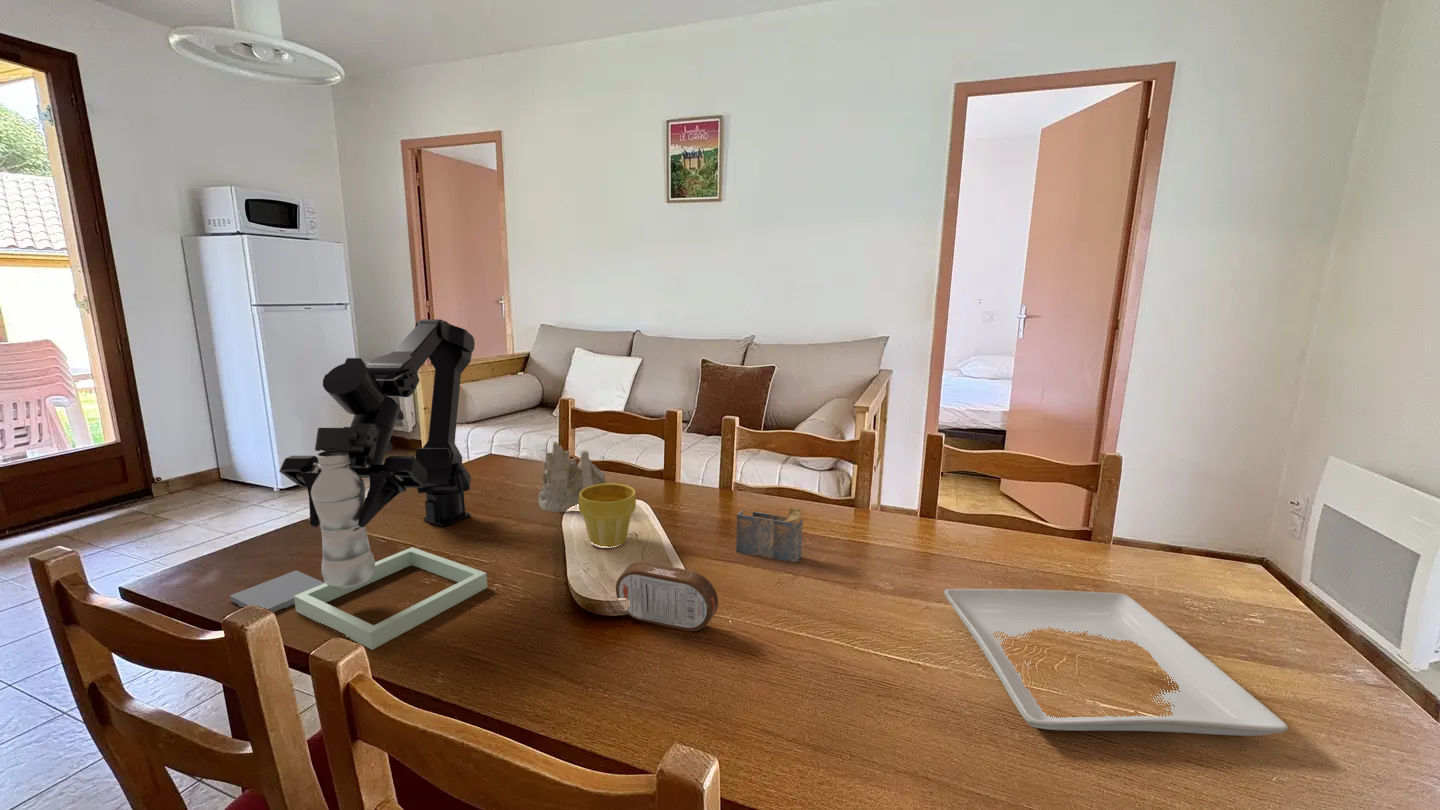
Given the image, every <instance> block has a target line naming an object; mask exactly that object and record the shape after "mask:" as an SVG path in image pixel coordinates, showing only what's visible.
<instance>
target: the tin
mask: <svg viewBox="0 0 1440 810" xmlns="http://www.w3.org/2000/svg"><path fill="white" fill-rule="evenodd" d="M615 593H616V598H626V599H628V600H630V608H629V609H627V610H626V612H625V613H626V615H627V614H628V616H630V617H632V618H633V619H635V620H638V621H641V622H645V623H650V624H655V625H658V626H663V627H668V628H671V629H672V628H673V629H677V630H680V631H686V632H697V631H699V630H702V629H703V628H705V627H706V626H707V625H708V624H709V623H710V622H711V620H712V617H714V616H715V614H716V613H717V610H718V608H719V598H718V594H717V591H716V589H715V587H714V586H713V584H712V582H711V581H710V580H709V579H707V578H706V576H704V575H702V574H700V573H699V572H696V571H693V570H690V569H684V568H678V567H673V566H670V565H669V566H667V565H664V564H658V563H653V562H649V561H636V562H635V561H634V562H633V563H631V564H629V565H628V566H627V567H626V568H625V570H624V571H623V572H622V573H621V574H620V576H619V577H618V578H617V580H616V584H615Z"/></svg>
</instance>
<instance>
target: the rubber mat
mask: <svg viewBox="0 0 1440 810" xmlns="http://www.w3.org/2000/svg"><path fill="white" fill-rule="evenodd" d="M324 583H325V581H321V580H319V579H317V578H314V577H312V576H310V575H308V574H306V573H303V572H301V571H300V570H294V571H291V572H288V573H286V574H285V573H284V574H283V575H280V576H277V577H275V578H272V579H270V580H268V581H267V580H266V581H264V582H262V583H258V584H256V585H255V586H251V587H249V588H246V589H243V590H241V591H237V592H235V593H232V594H230V595H229V598H230V599H229V600H230V602H231V601H233V602H234V603H233V602H232V603H233V604H235V603H236V604H238V605H237V606H238V607H241V608H242V607H244V606H248V605H253V606H259V607H262V608H266V609H268V610H271V611H273V612H274V611H277V609H278V610H279V609H283V608H285V609H288V608H289V606H290V607H292V606H295V601H294V596H295V595H297V594H300V593H302V592H304V591H307V590H309V589H312V588H314V587H317V586H319V585H321V584H324ZM236 604H235V605H236ZM291 605H292V606H291ZM283 610H284V609H283Z"/></svg>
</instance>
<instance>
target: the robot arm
mask: <svg viewBox="0 0 1440 810" xmlns="http://www.w3.org/2000/svg"><path fill="white" fill-rule="evenodd" d="M475 344H476V343H475V338H474V336H473V335H472V334H471V333H470V332H468V330H467V329H465V328H461V327H459V326H457V325H454V324H450V323H449V322H448V321H446V320H443V319H437V318H436V319H431V318H430V319H429V318H428V319H425V318H424V319H423V318H421V319H420V320H417V321H416V323H415V326H414V328H413V329H412V330H411V331H410V333H409V334H408V335H407V336H406V337H405V338H404V339H403V340H402V341H401V342H400V343H399V344H398V346H396V347H395V348H394V350H393V351H392V352H390V353H389V354H384V355H381V356H378V357H376V358H374V359H371V360H370V361H369V362H368V363H365V361H364V360H363V359H362V358H361V357H347V358H346V359H345V361H344V363H342V364H339V365H337V366H335V367H333V368H332V369H331V370H329V372H328V373H326V374H324V377H323V380H322V387H323V389H324V391H326V392H327V393H328V394H329V395H330V396H331V398H332V399H334V400H335V402H336V403H337V404H338V405H339V406H340V407H341V408H342V409H343V410H344V411H345V412H346V413H347V414H350V415H354V416H353V418H352V421H351V424H350V426H344V427H318V428H317V431H316V432H317V433H316V440H315V447H314V450H315V451H317V452H320V451H321V452H324V451H329V450H348V452H349V458H350V460H351V464H350V465H349V467H350V468H351V469H352V470H354V471H355V472H356V473H357V474H358V475H359V476H360V477H361V478H362V479H363V478H369V489H368V492H367V494H366V496H365V502H364V505H363V508H362V511H361V513H360V517H359V521H358V526H360V527H365V528H366V526H367V525H368V524H369V523H370V522H371V521H372V520H373V519H374V518H375V516H376V515H378V513H380V512H381V510H382V509H383V508H385V506H387V504H388V503H390V502H392V500H393V499H394V498H395V497H397V496H398V495H399V494H401V493H402V494H403V493H405V492H406V491H407V489H409V488H410V489H416V490H417V493H418V494H425V496H426V497H425V499H426V500H425V501H424V506H425V507H424V509H425V517H423V521H425V522H427V523H431V524H434V525H436V526H437V525H438V526H441V527H446V526H449V525H452V524H455V523H457V522H460V521H463V520H464V519H467V518H469V517H471V516H472V514H471V513H470V512H466V505H465V504H466V503H465V492H466V491H470V490H471V488H470V486H471V482H472V481H471V478H472V477H471V474H470V473H469V472H468V470H467V468H466V467H465V466H464V465H463V456H462V453H461V452H460V450H459V448H458V447H457V445H456V435H457V434H456V433H457V431H456V430H457V424H458V423H457V422H458V421H457V420H458V411H459V409H458V407H459V399H460V388H461V379H462V373H463V372H464V371H465V370H466V368H467V367H468V366H469V364H470V363H471V361H472V356H473V352H474V350H475ZM428 359H429V360H430V363H431V365H432V366H433V368H434V378H433V379H434V380H433V387H432V388H433V389H432V397H431V398H432V399H431V409H430V417H429V418H430V419H429V429H428V438H427V442H426V443H425V444H424V445H423V447H418V448H417V450H416V452H415V457H414V455H389V456H387V457H386V458H385V455H386V452H388V451H389V452H391V451H392V450H393V447H394V444H392V442H391V441H390V440H391V438H392V435H393V431H394V429H395V425H396V422H397V421H403V420H404V419H405V416H404V412H403V411H402V410H401V407H400V404H399V403H397V402H396V401H395V399H393V398H409V397H411V396H412V395H413V394H414V392H415V390H416V389H417V387H418V385H419V382H420V378H419V373H418V372H419V370H420V369H421V367H422V366H423V365H424V363H426V361H427V360H428ZM384 459H385V460H384ZM320 472H321V469H319V468H318V457H317V455H290V456H288V457H285V458H284V460H283V462H282V464H281V466H280V469H279V473H280V474H282V475H283V476H285V477H286V478H288V479H289V480H290V481H292V482H293V483H295V485H297V486H299V487H300V488H305V489H307V493H308V500H309V502H308V503H309V524H310V526H311V527H312V528H318V526H320V524H319V519H318V515H317V512H316V509H315V506H314V503H313V500H312V496H311V489H312V485H313V484H314V482H315V480H316V478H317V477H318V475H319V474H320Z"/></svg>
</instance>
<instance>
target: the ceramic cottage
mask: <svg viewBox="0 0 1440 810" xmlns="http://www.w3.org/2000/svg"><path fill="white" fill-rule="evenodd" d="M545 455H546V456H545V458H546V460H544V461H543V471H542V472H543V475H542V487H541V489H540V491H539V493H538V494H537V501H538V504H539V507H540V509H542V510H544V511H547V512H553V513H566V512H565V511H566V510H567V509H569V508H570V507H572V506H575V505H577V504H579V493H580V491H581V490H583V489H584V488H586V487H589V486H592V485H597V484H606V483H605V482H607V480H606V475H605V473H604V472H603V471H602V470H601V469H599V468H598V467H597V465H595V464H594V463H593V462H592V460H590V457H589V451H588V450H581V451H580V460H579V462H577V458H576V457H574V458H571V455H570V450H565V451H564V449H563V447H562V446H559V443H558V441H553V442H552V451H551V452H550V451H549V452H546V453H545ZM570 458H571V459H570Z"/></svg>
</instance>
